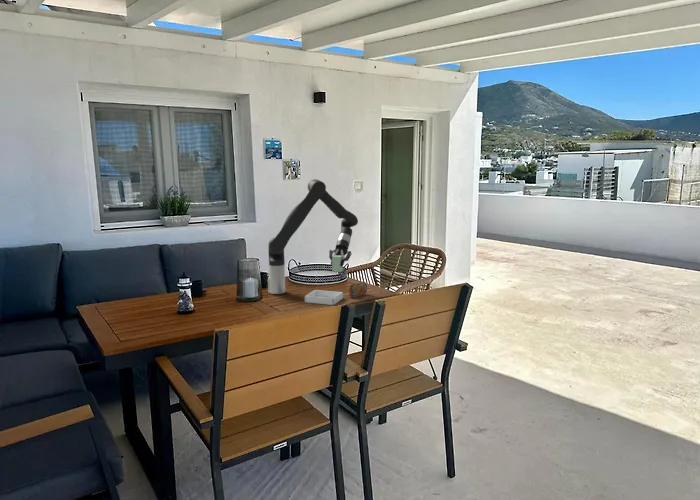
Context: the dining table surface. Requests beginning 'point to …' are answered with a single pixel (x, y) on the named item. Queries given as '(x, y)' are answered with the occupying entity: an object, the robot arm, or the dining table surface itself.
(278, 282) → the robot arm
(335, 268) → the green block
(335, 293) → the tray
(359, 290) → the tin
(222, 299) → the dining table surface
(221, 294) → the dining table surface
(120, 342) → the dining table surface
